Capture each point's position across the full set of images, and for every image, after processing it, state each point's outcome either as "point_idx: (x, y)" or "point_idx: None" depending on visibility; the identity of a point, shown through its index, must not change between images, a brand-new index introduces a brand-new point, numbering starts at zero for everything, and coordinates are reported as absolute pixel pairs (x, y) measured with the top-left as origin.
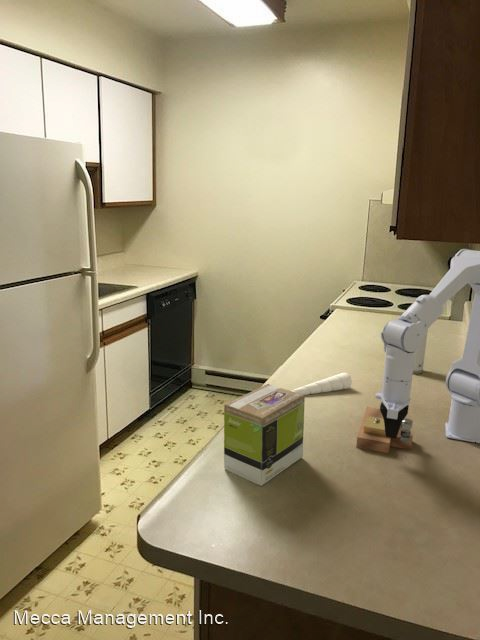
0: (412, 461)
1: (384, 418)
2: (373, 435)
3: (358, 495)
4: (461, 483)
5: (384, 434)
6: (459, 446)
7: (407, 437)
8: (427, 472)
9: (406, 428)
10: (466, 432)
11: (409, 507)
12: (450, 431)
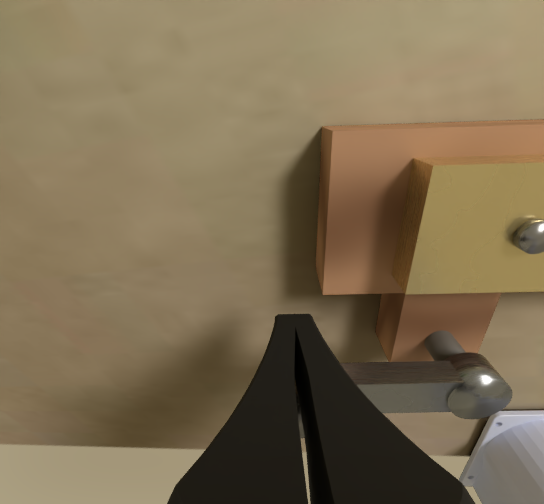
0: None
1: (227, 425)
2: (384, 218)
3: None
4: None
5: (396, 271)
6: (438, 432)
7: None
8: (237, 374)
9: (382, 400)
10: (497, 473)
11: (11, 345)
12: (524, 429)
